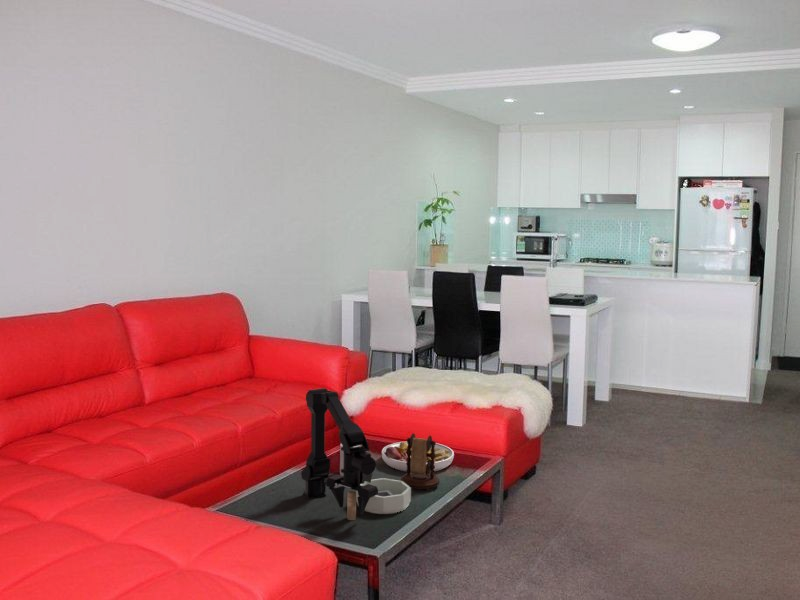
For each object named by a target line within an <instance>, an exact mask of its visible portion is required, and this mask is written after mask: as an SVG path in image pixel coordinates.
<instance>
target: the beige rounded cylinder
mask: <svg viewBox="0 0 800 600" xmlns="http://www.w3.org/2000/svg"><path fill="white" fill-rule="evenodd" d="M346 498H347V499H346V500H347V501H346V502H347V503H346V507H347V508H346V519H347V520H348V521H355V520H356V519H357V501H356V490H349V491H347V494H346Z"/></svg>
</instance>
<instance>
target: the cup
mask: <svg viewBox="0 0 800 600" xmlns="http://www.w3.org/2000/svg"><path fill="white" fill-rule="evenodd" d="M360 446H362V445H359V446H354V447H360ZM342 447H343V445H342V444H341V443H340V445H339V449H340V450H339V452H340V453H339V454H340V455H339V475H341V476H343V475H344V473H342V472H341V469H344V451H342V450H341V448H342Z"/></svg>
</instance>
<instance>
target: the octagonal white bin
mask: <svg viewBox="0 0 800 600" xmlns="http://www.w3.org/2000/svg"><path fill="white" fill-rule="evenodd" d="M367 484H370V485H373V486H376V487H377V488H378V495H375V496H374V497H371V498H370V499H369V501H368V503H367V505H366V508H365V510H364V512H366V513H370V514H377V515H390V514H391V515H392V514H398V513H400V511H401V512H403V510H404V511H405V510H407V509H408V508H409V507H408V506H410V503H411V502H412V488H410V487H409V486H408V485H407V484H405V483H404V482H403V481H401V480H399V479H397V480H396V479H392V478H385V477H383V478H381V477H380V478H375V479H373V478H372V479H371V483H369V482H366V481H365V483H363V484H360V486H365V485H367ZM355 492H356V506H357V507H358V508H359V505H358V498H357V497H359V495H358V491H356V490H355ZM407 507H408V508H407ZM406 508H407V509H406ZM397 512H398V513H397Z"/></svg>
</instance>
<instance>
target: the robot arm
mask: <svg viewBox="0 0 800 600" xmlns="http://www.w3.org/2000/svg"><path fill="white" fill-rule="evenodd" d="M305 401H306V407H307V409H308V410H309V411H310V415H311V417H310V419H311V420H310V421H311V423H310V432H311V433H310V438H311V439H310V441H311V442H310V453H309V455H308V457H307V458H306V465H305V467H304V468H303V470H302V471H301V472H300V473H301V479H302V480H304V481H305V491H304V492H303V493H304V495H305V496H306V497H307V498H308V499H317V498H323V497H324V498H325V497H326V496H327V495H326V491H327V489H326V488H327V487H328V488H329V489H328V490H330V491H331V493H332V494H333V496H334V498H335V500H336V502H337V505H338V507H339V508H341V509H342V508H343V506H344V501H345V499H344V498H345V497H344V494H345V489H346V488H347V489H351V490H352V491H355V492H356V491H358V495H359V497H357V498H358V505H359V507H358V510H359V511H358V512H359V514H360V515H361V516H362V515H364V512H365V511H364V510H365V508H366V505H367V503H368V501H369V499H370V498H371V497H374V496H375V495H378V488H377V487H376V486H373V485H370V484H367V485H365V486H360V484H363V483H365V481H366V482H369V483H371V480H372V479H373V473H374V471H375V470H376V468H377V467H376V466H377V462H376V460H375V458H373V457H372V453H370V452H369V451H370V447H369V446H370V445H369V441H368V439H367V438H366V435H365V433H364V431H363V429H362V428H361V427H360V425H359V424H357V423H355V422H353V420H352V419H351V418H350V416H349V414H348V412H347V411H346V409H345V407H344V406H343V403H342V402H341V400H340V398H339V394H338V392H337V391H334V390H328V389H327V388H326V387H321V388H314V389H309V390H308V391H307V392H306V395H305ZM327 411H329V414H330V415H331V417H332V419H333V420H334V423H335V424H336V426H337V429H338V438H339V441H340V444H342V445H343V447H342V448H341V450H342V451H344V469H341V472H342V473H344V475H343V476H341V475H340V474H334V475H331V476H329V475H330V471H331V459H330V457H328V455H327V454H326V452H325V450H326V447H325V446H326V442H325V441H326V439H325V438H326V412H327ZM359 445H361V446H360V447H354V446H359ZM325 479H326V481H325ZM358 505H357V506H358Z"/></svg>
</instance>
